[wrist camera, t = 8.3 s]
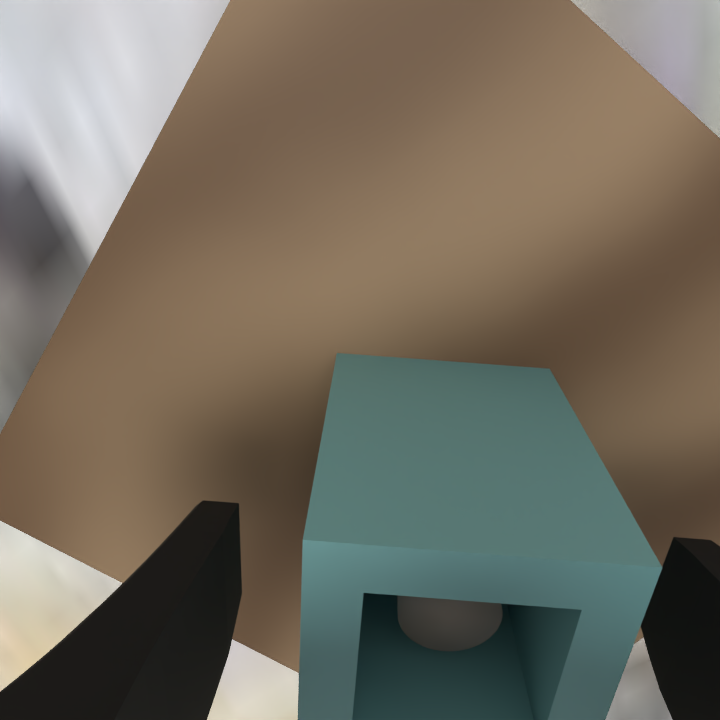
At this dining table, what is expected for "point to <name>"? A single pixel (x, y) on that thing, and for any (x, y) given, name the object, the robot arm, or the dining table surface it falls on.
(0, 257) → the dining table surface
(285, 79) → the shaft base
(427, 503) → the teal square sleeve
